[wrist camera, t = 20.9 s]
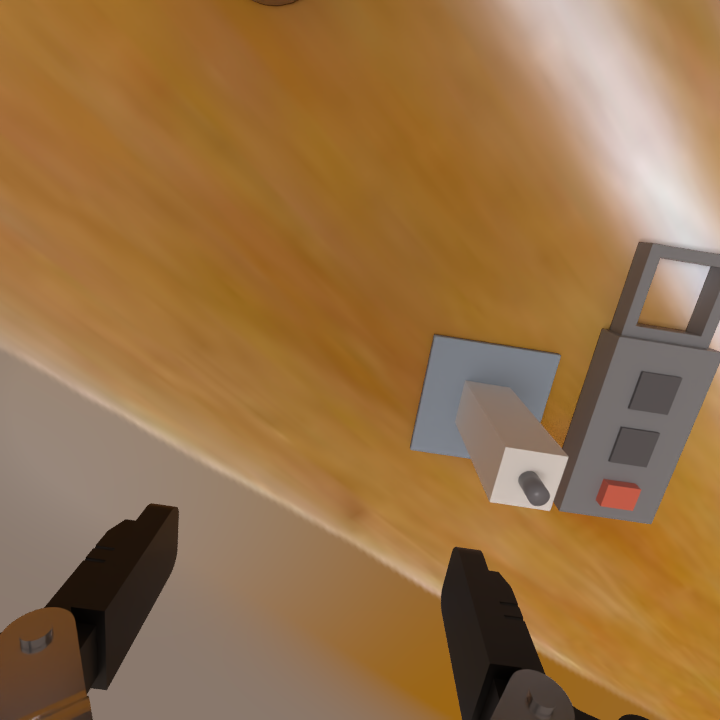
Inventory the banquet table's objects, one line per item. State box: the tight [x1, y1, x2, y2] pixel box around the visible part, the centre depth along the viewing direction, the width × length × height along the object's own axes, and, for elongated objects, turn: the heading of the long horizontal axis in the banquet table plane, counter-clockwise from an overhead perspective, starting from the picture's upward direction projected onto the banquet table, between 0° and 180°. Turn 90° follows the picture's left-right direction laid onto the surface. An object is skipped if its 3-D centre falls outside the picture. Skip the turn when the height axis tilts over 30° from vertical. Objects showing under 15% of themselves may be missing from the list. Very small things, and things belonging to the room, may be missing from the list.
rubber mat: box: [410, 334, 561, 459], centre depth 44 cm, size 12×12×1 cm
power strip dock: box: [553, 242, 720, 524], centre depth 41 cm, size 26×9×4 cm, turn 171°
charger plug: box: [455, 380, 569, 511], centre depth 36 cm, size 4×4×15 cm
